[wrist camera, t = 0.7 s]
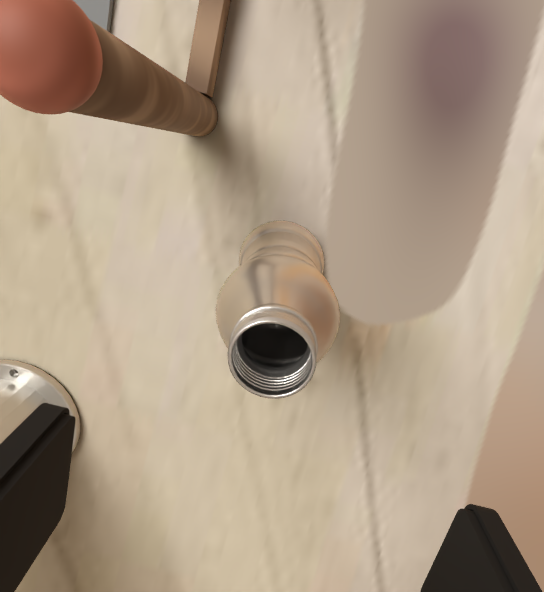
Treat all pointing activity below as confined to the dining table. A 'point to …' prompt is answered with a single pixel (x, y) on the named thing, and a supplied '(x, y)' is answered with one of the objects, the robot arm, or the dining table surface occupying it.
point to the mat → (98, 11)
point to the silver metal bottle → (277, 310)
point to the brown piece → (105, 68)
